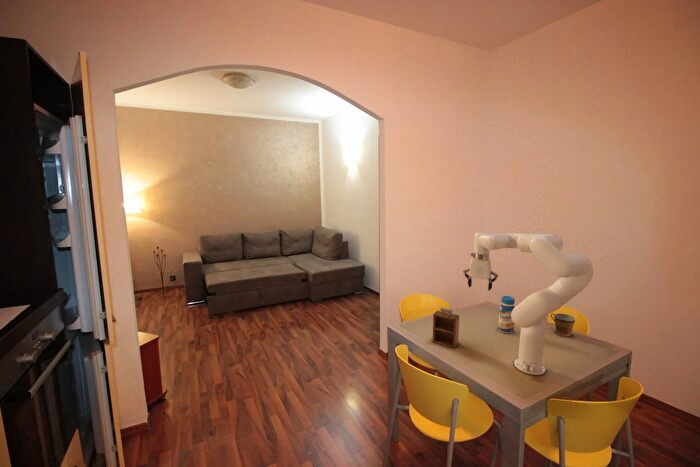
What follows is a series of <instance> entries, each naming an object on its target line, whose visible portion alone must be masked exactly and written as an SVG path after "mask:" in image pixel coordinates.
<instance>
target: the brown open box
mask: <svg viewBox="0 0 700 467" xmlns="http://www.w3.org/2000/svg"><path fill="white" fill-rule="evenodd" d="M439 309H440V310H436V311H435V312H433V316H432V343H434V344H438V345H442V346H445V347H449V348H453V349H456V347H457V346H458V345H459V332H460V314H455V313H453V311H454V310H453V309H450V308H445V307H440V308H439Z"/></svg>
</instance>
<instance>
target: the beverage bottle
mask: <svg viewBox="0 0 700 467" xmlns="http://www.w3.org/2000/svg"><path fill="white" fill-rule="evenodd" d="M500 299H501V300H500V302H501V304H500V305H499V310H498V327H497V329H498V331H499V332H501V333H503V334H514V332H515V324H514V322H513V321H512V318H511V313H512V310H513V309H514V308H515V307H516V306H515V301H516V299H515V297H513V296H509V295H503V296H501V298H500Z"/></svg>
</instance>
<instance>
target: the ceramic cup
mask: <svg viewBox="0 0 700 467" xmlns="http://www.w3.org/2000/svg"><path fill="white" fill-rule="evenodd" d="M550 318H551V319H552V321H553V322H554V326H555V333H556V334H557V335H559V336H563V337H570V336H571V334H572V332H573V328H574V325H575V322H576V317H574V316H573V315H570V314H566V313H562V312H561V313H554V312H551V313H550Z"/></svg>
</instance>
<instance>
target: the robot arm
mask: <svg viewBox="0 0 700 467" xmlns="http://www.w3.org/2000/svg"><path fill="white" fill-rule="evenodd" d="M473 237H474V238H473V252H471V253H470V256H471V257H472V258H471V260H470V265H469V268H467V269H466V268H465V269H463V271H462V272H463V274H464V277H465V278H466V279H467V286H468V288H471V287H472V284H473V279H472V278H474V279H478V280H479V279H480V280H487V281H488V284H487V285H488V286H487V291H491V290H492V289H493V283H494V282H495V281H497V279H498V277H499V274H498V273H496V272H495V271H493V270H492V262H491V259H490V251H495V250H501V249H517V250H519V251H520V252H521V253H530V254H532V255H533V256H534V257H535V258H536V259H537V260H538V261H539V262H540V263H541V264H542V265H543V266H545V268H546V269H548V270H549V271H550V272H551V273H552V274H554V275H555V276H556V277H559V278H558V279H557V280H556V281H555V282H553V283H552V284H551V285H550V286H548V287H546V288H544V289H541V290H537V291H535V292H533V293H531V294H529V295H528V296H527V297H526V298H524V299H523V300H522V301H520V303H518V304H517V305H516V306H514V307H515V308H514V309H513V310H512V313H511V318H512V321H513V322H514V326H516V327H518V328H520V333H519V346H518V358H516V359H515V360H514V367H515V368H516V369H517V370H519V371H520V372H522V373H525V374H528V375H532V376H541V375H543V374H546V369H547V368H546V366H545V365H544V364H543V356H544V345H545V336H546V328H547V323H548V321H549V314H552V313H554V312H556V311H558V310H559V309H561V308H562V307H563V306H565V304H567V303H568V302H569V301H571V300H572V299H573V298H575V296H577V295H578V294H580V293H581V292H582V291H584V290H585V289H586V288H587V287H588V286H589V285H590V283H591V281H592V279H593V277H594V266H593V263H592V261H591V259H590V258H589V257H588V255H587V256H586V255H585V254H583V253H579V252H574V253H573V252H572V253H569V254H564V253H563V252H562V251H561V250H562V249H563V247H564V242H563V240H562V239H563V238H561V236H558V235H556V234H553V233H520V232H519V233H515V232H513V233H512V232H502V233H501V232H500V233H494V234H490V233H488V232H479V231H478V232H475V234H474V236H473ZM468 272H469V274H468ZM492 276H493V278H492Z"/></svg>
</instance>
